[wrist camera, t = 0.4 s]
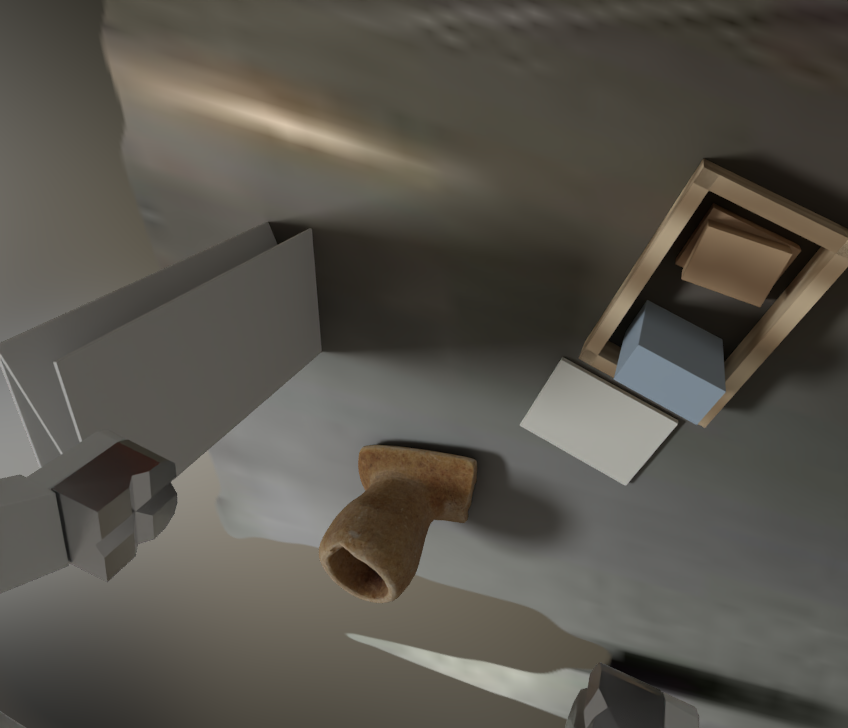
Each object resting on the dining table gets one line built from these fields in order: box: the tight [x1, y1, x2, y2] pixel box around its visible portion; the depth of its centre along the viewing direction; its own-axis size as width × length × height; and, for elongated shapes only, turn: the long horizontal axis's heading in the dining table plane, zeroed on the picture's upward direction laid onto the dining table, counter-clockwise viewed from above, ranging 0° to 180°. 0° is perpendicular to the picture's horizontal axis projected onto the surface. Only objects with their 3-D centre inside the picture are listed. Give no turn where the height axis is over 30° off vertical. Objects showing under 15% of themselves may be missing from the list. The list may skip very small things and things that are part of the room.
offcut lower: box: [675, 203, 801, 283], centre depth 47 cm, size 5×7×2 cm
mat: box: [520, 357, 678, 486], centre depth 59 cm, size 9×12×1 cm
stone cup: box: [319, 445, 477, 603], centre depth 66 cm, size 15×12×15 cm
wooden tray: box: [579, 158, 848, 428], centre depth 49 cm, size 18×12×4 cm, turn 159°
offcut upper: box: [681, 219, 792, 307], centre depth 46 cm, size 4×6×2 cm
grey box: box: [0, 222, 322, 480], centre depth 54 cm, size 14×6×30 cm, turn 0°
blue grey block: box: [614, 300, 726, 425], centre depth 49 cm, size 4×7×9 cm, turn 69°
